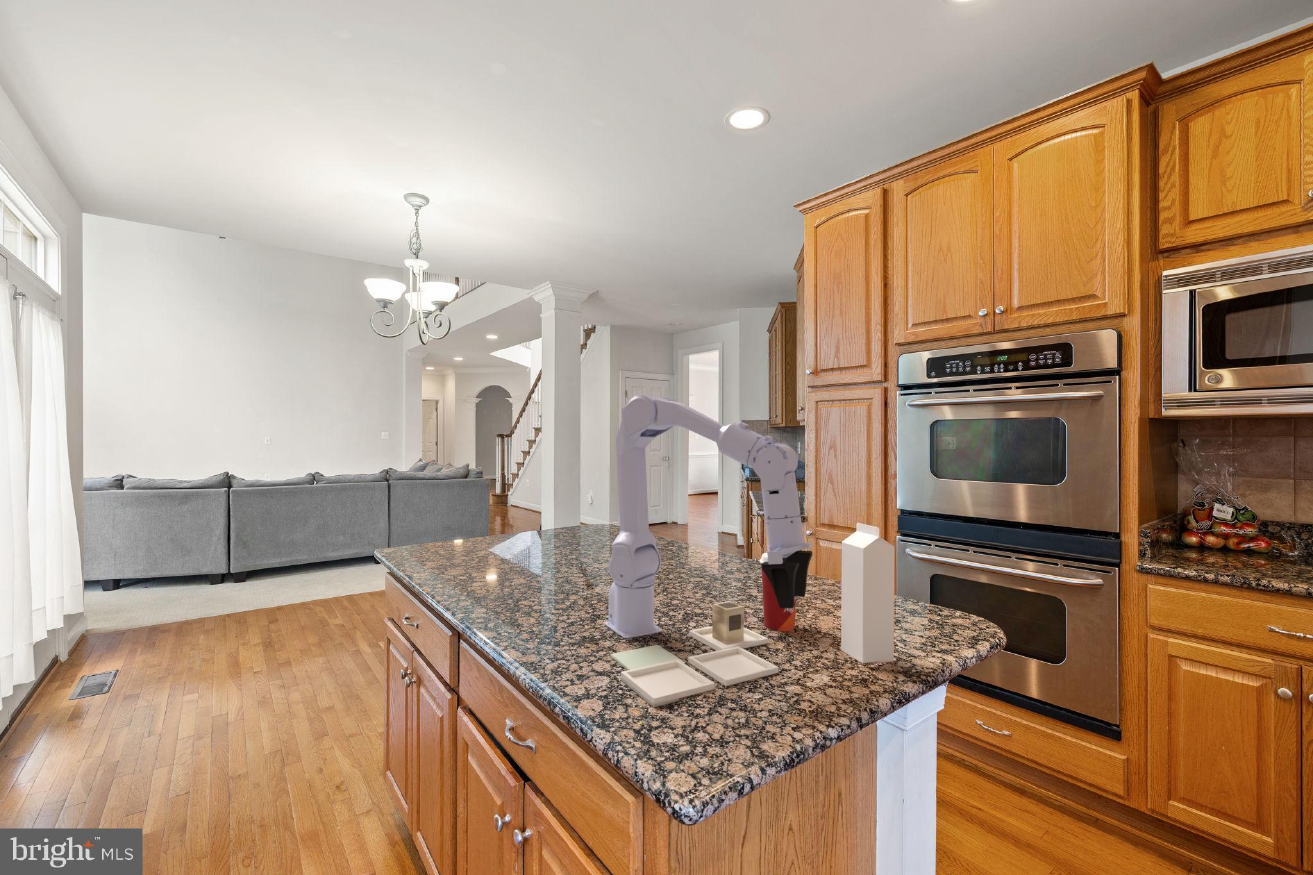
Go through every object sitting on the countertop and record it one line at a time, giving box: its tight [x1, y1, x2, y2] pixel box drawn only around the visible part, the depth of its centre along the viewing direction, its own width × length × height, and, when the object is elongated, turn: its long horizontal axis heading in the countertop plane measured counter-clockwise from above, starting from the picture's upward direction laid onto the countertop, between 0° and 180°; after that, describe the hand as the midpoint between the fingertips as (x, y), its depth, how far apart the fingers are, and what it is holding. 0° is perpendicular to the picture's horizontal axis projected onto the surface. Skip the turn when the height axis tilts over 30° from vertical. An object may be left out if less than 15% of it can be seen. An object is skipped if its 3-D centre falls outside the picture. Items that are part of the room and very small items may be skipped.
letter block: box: [711, 600, 745, 644], centre depth 102 cm, size 4×4×6 cm
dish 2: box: [688, 626, 769, 651], centre depth 102 cm, size 10×10×1 cm
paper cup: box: [759, 552, 798, 632], centre depth 109 cm, size 8×8×14 cm
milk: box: [840, 522, 895, 665], centre depth 95 cm, size 6×6×22 cm
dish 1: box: [620, 659, 715, 708], centre depth 83 cm, size 10×10×1 cm
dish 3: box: [687, 646, 780, 687], centre depth 89 cm, size 10×10×1 cm
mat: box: [609, 644, 686, 671], centre depth 92 cm, size 9×9×1 cm
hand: (792, 601), depth 91 cm, fingers open, 7 cm apart
